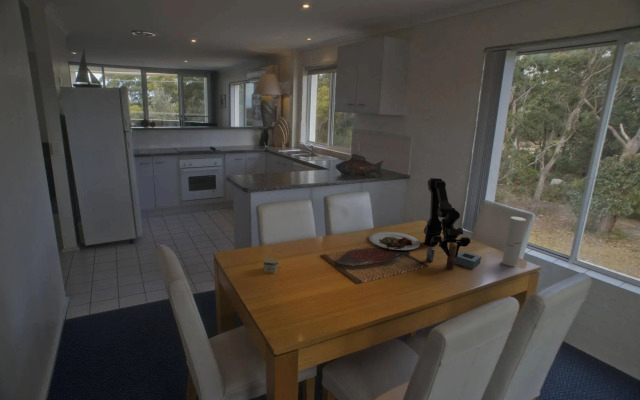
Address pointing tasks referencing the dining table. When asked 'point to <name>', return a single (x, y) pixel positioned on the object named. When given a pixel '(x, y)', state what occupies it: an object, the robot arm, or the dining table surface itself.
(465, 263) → the hole block
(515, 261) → the cylindrical container
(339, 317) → the dining table surface
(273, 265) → the grey lidded box
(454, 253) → the tall walnut pin
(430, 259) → the short grey pin
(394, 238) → the plated food
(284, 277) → the dining table surface
